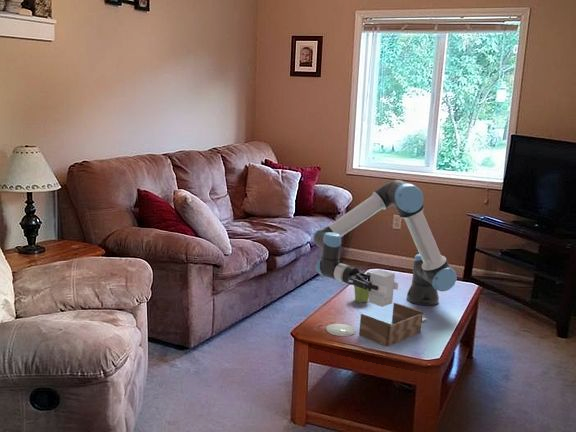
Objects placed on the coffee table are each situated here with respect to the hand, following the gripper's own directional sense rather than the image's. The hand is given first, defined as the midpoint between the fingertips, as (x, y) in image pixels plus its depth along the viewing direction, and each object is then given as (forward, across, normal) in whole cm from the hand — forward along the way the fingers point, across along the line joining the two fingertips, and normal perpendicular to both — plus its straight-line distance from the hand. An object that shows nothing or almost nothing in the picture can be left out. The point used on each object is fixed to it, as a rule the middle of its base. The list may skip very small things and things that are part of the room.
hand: (391, 288), depth 243 cm
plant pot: (-34, -27, -21) cm, 48 cm away
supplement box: (-5, 0, -8) cm, 9 cm away
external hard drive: (-6, -26, -21) cm, 34 cm away
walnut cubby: (-1, -4, -21) cm, 21 cm away
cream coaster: (-16, +10, -21) cm, 28 cm away
